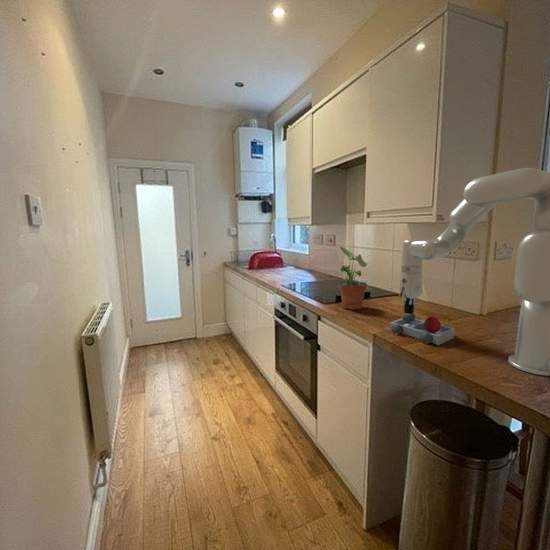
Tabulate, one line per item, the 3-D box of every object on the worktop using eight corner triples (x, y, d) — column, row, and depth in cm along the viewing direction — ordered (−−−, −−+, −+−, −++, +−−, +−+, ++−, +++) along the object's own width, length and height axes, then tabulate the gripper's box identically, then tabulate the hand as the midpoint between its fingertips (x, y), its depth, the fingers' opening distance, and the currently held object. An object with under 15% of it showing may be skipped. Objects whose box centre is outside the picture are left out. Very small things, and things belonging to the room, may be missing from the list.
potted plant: (337, 311, 156) (338, 243, 150) (338, 303, 171) (339, 241, 165) (368, 313, 153) (371, 243, 147) (367, 305, 167) (369, 241, 161)
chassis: (456, 336, 120) (457, 326, 120) (435, 347, 110) (436, 336, 110) (408, 323, 136) (409, 315, 135) (386, 332, 126) (387, 322, 126)
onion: (429, 337, 116) (432, 317, 115) (419, 331, 122) (421, 312, 120) (443, 336, 118) (445, 316, 116) (432, 330, 123) (434, 312, 122)
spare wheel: (417, 319, 126) (417, 313, 126) (411, 321, 123) (411, 316, 123) (406, 316, 130) (406, 311, 130) (400, 318, 127) (400, 313, 127)
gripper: (410, 273, 116) (407, 319, 119) (430, 268, 125) (426, 311, 128) (392, 270, 122) (390, 314, 125) (412, 266, 131) (409, 308, 134)
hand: (408, 313), depth 126 cm, fingers closed
